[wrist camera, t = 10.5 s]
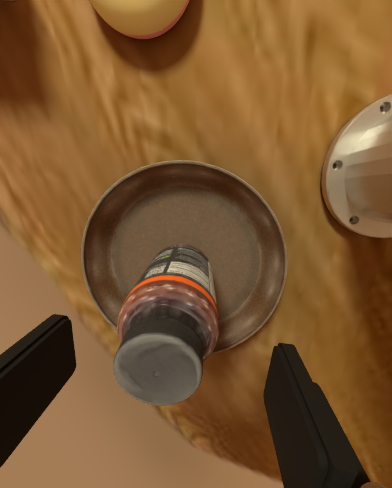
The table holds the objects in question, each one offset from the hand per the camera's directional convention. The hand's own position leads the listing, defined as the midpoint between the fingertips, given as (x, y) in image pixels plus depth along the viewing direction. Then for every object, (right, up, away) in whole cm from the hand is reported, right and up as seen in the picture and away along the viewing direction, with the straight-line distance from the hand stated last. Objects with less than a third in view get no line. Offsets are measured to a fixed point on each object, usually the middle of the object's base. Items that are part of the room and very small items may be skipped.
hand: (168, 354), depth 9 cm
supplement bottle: (0, +2, +11) cm, 11 cm away
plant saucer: (0, +3, +14) cm, 14 cm away
